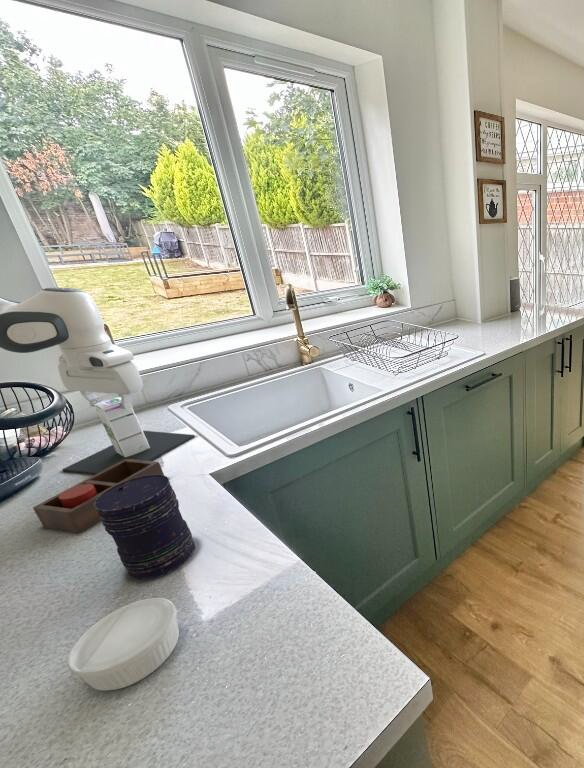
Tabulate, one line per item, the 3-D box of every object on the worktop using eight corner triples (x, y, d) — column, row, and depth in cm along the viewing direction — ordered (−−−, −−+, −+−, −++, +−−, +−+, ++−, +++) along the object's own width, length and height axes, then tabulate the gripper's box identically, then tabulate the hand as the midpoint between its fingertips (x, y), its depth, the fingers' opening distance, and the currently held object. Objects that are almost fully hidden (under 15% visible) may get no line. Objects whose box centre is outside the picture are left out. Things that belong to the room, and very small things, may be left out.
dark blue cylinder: (209, 544, 78) (183, 478, 73) (155, 586, 70) (121, 515, 64) (170, 535, 81) (142, 470, 75) (113, 574, 72) (77, 505, 66)
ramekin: (83, 657, 58) (67, 632, 56) (180, 608, 66) (168, 583, 64) (84, 721, 51) (65, 693, 49) (193, 657, 58) (181, 631, 56)
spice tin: (64, 521, 85) (51, 497, 83) (92, 505, 90) (80, 482, 88) (84, 524, 84) (71, 500, 82) (111, 507, 89) (100, 484, 87)
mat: (63, 471, 103) (62, 469, 103) (142, 432, 121) (142, 430, 121) (121, 477, 100) (120, 475, 99) (194, 436, 118) (194, 435, 118)
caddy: (43, 527, 84) (32, 507, 82) (133, 476, 100) (125, 458, 98) (80, 532, 82) (69, 512, 80) (166, 479, 98) (158, 461, 97)
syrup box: (151, 448, 111) (130, 399, 106) (123, 458, 107) (101, 408, 101) (141, 443, 114) (121, 395, 108) (114, 453, 109) (92, 403, 104)
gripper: (41, 357, 99) (65, 409, 104) (110, 361, 95) (131, 415, 100) (71, 349, 105) (92, 399, 110) (138, 353, 101) (156, 404, 106)
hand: (112, 407), depth 105 cm, fingers open, 8 cm apart
